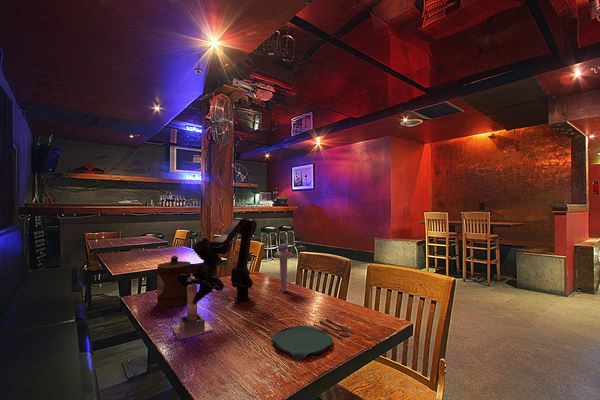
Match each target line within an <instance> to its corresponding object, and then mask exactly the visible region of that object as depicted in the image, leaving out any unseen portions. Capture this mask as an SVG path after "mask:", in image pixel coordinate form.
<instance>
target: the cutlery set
mask: <svg viewBox="0 0 600 400" xmlns="http://www.w3.org/2000/svg"><path fill="white" fill-rule="evenodd" d="M325 321H326V322H328V323H330V324H331V325H334V326H335V327H336V328H337V327H338V328H341V329H336V328H334V327H333V326H331V325H329V324H328V323H326V322H325ZM325 321H323V320H319V323H320V324H321V325H324V326H327V327H328V328H330V329H331V330H333V331H335V333H334V332H332V331H329V330H328V328H326V327H322V326H320V325H319V324H316V323H313V326H312V325H295V326H290V327H286V328H283V329H280V330H278V331H277V332H274V333H273V335H272V336H271V337H272V338H271V340H270V341H271V342H272V343H273V345H274V347H275V348H276V349H277V350H279V351H281V352H282V353H285V354H290V355H292V357H293V358H295V360H297V361H298V360H299V361H301V360H303V359H304V358H305V357H307V356H314V355H318V354H322V353H324V352H325V351H327V350H328V349H329V348H330V347H332V346H333V337H334V338H337V339H339V340H343V337H347V336H349V334H351V335H354V334H356V332H355V331H353V330H351V329H349V328H348V327H347V326H344V325H340V324H338V323H336V322H334V321H333V320H331V319H329V318H325ZM314 326H315V327H314ZM316 327H318V328H316ZM339 332H342V333H345V334H346V335H344V334H341V333H339ZM331 335H332V336H333V337H332V336H331ZM341 336H342V337H341Z"/></svg>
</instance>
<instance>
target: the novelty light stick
mask: <svg viewBox="0 0 600 400" xmlns="http://www.w3.org/2000/svg"><path fill="white" fill-rule="evenodd" d="M277 248H278V250H279V251H277V252H274V255H273V256H274V257H275V258H278V259H279V272H280V273H279V275H280V291H281V292H282V293H285V292H287V280H288V279H287V275H288V274H287V273H288V259H289V258H292V257H293V256H294V253H293V252H291V251H288V249H289V246H288V244H286V243H281V244H279V245H278V247H277Z"/></svg>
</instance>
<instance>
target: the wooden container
mask: <svg viewBox="0 0 600 400" xmlns="http://www.w3.org/2000/svg"><path fill="white" fill-rule="evenodd" d="M189 264H192V263H191V261H182V260H180V261H179V256H177V255H173V256H171V257H170V261H168V262H162V263H160V264H157V277H156V278H157V283H156V284H157V285H156V287H157V288H156V290H157V291H156V292H157V299H156V301H157V306H158V305H159V306H158V307H160V306H162V307H161V308H165V307H171V308H177V307H178V308H179V307H181V306H186V305H187V303H185V295H186V287H184V286H183V285H182V284H181V283H180V282H179V281H178V280H177V278H178V276H179V275H180V274H187V275H189V276H190V277H191V278H192V273H187V269H188V266H189Z"/></svg>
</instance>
